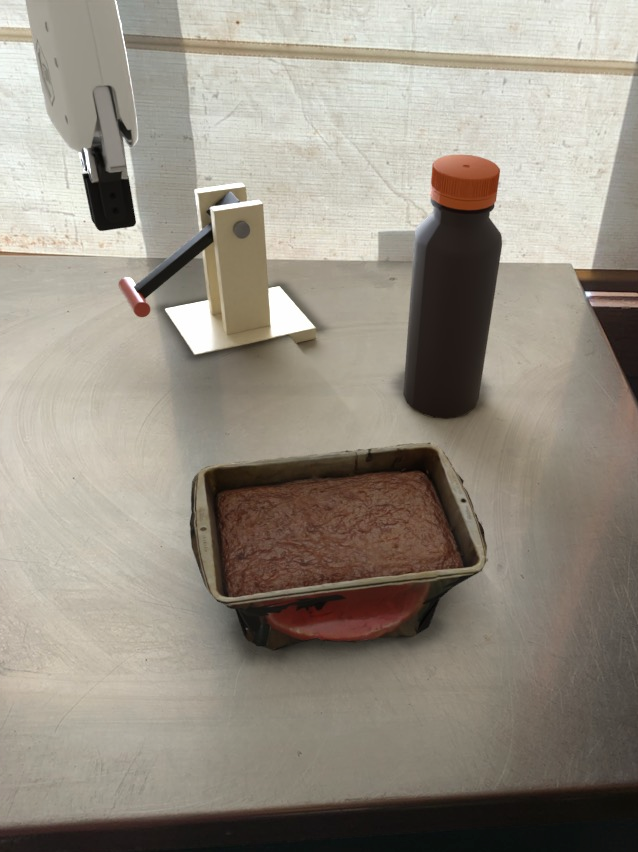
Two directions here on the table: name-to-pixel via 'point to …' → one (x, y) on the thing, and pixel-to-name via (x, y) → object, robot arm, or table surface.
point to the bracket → (236, 281)
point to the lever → (169, 266)
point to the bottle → (452, 288)
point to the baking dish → (335, 542)
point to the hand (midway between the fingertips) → (114, 224)
